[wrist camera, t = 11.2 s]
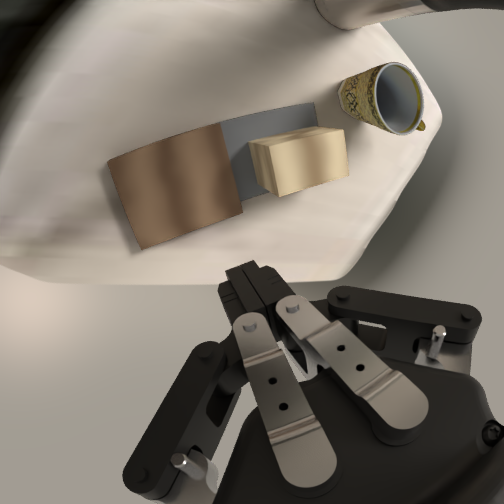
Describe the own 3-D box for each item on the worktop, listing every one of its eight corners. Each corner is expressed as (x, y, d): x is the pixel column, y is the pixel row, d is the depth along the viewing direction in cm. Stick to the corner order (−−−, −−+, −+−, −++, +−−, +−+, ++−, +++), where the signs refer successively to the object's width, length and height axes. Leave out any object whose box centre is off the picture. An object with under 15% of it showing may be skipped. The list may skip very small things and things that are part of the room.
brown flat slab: (216, 123, 33) (220, 123, 32) (238, 208, 39) (243, 212, 38) (109, 160, 31) (107, 162, 29) (141, 244, 37) (141, 250, 35)
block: (314, 126, 37) (343, 129, 31) (320, 165, 40) (349, 175, 34) (248, 141, 35) (268, 146, 30) (257, 184, 38) (279, 197, 33)
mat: (312, 102, 36) (313, 102, 36) (324, 174, 41) (325, 174, 41) (216, 123, 33) (216, 123, 33) (236, 201, 39) (237, 202, 39)
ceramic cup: (318, 106, 37) (363, 107, 28) (343, 55, 34) (389, 47, 25) (375, 148, 43) (420, 159, 34) (395, 101, 40) (440, 105, 31)
